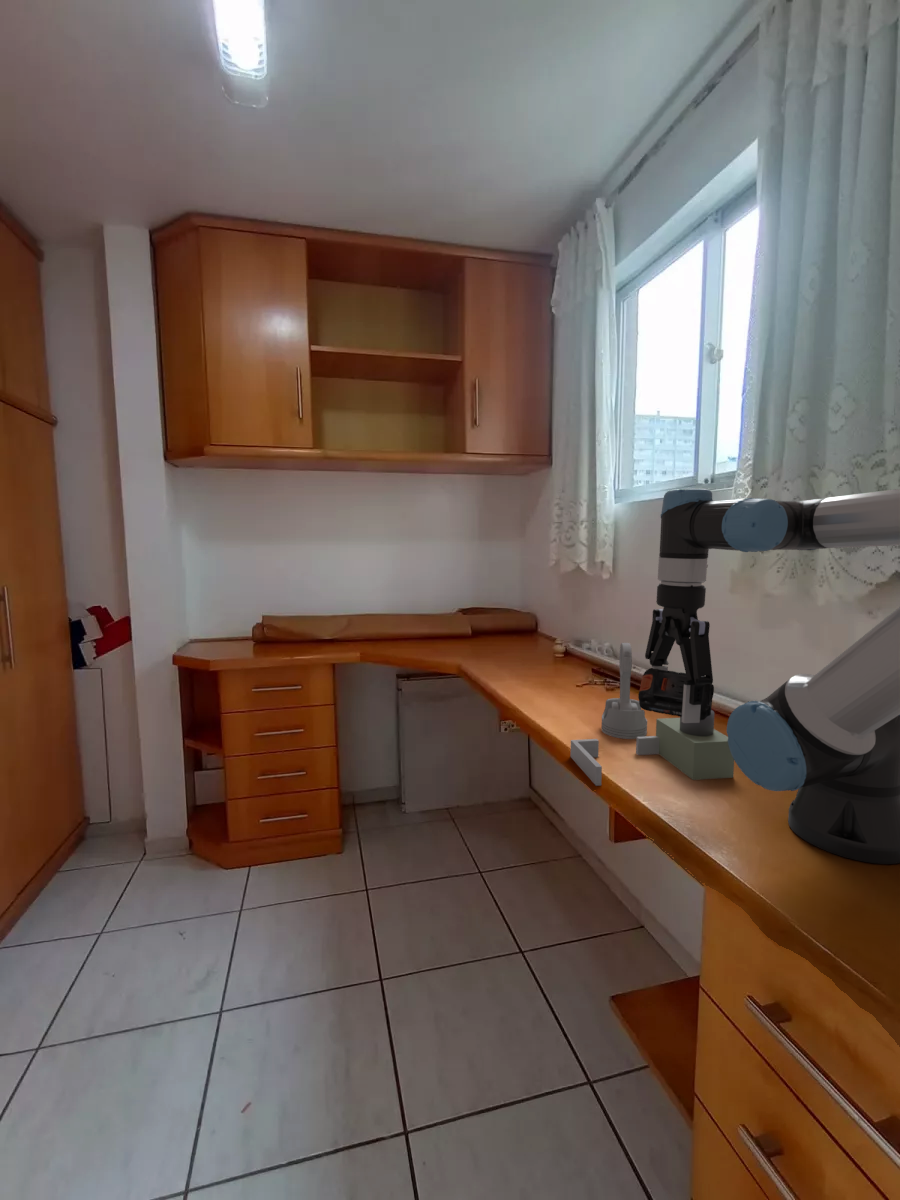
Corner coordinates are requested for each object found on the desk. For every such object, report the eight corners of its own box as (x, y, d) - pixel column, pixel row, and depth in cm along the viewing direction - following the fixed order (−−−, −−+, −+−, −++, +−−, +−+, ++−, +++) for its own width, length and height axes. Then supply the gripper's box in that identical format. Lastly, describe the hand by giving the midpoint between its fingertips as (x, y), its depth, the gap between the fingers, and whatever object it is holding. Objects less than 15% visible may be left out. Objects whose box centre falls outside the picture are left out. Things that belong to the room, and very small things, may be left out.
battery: (636, 713, 99) (631, 699, 94) (648, 672, 102) (645, 657, 97) (707, 733, 93) (706, 720, 88) (718, 690, 96) (718, 674, 91)
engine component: (602, 737, 123) (650, 740, 121) (605, 647, 121) (653, 648, 119) (599, 721, 134) (642, 724, 132) (601, 638, 131) (645, 640, 129)
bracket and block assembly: (733, 777, 102) (736, 719, 101) (596, 785, 99) (597, 726, 97) (691, 749, 116) (693, 698, 114) (569, 755, 112) (570, 703, 111)
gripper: (746, 591, 81) (734, 734, 84) (667, 576, 104) (660, 690, 107) (699, 591, 80) (688, 736, 83) (629, 577, 103) (623, 692, 106)
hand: (673, 711), depth 95 cm, fingers closed on battery, 10 cm apart
